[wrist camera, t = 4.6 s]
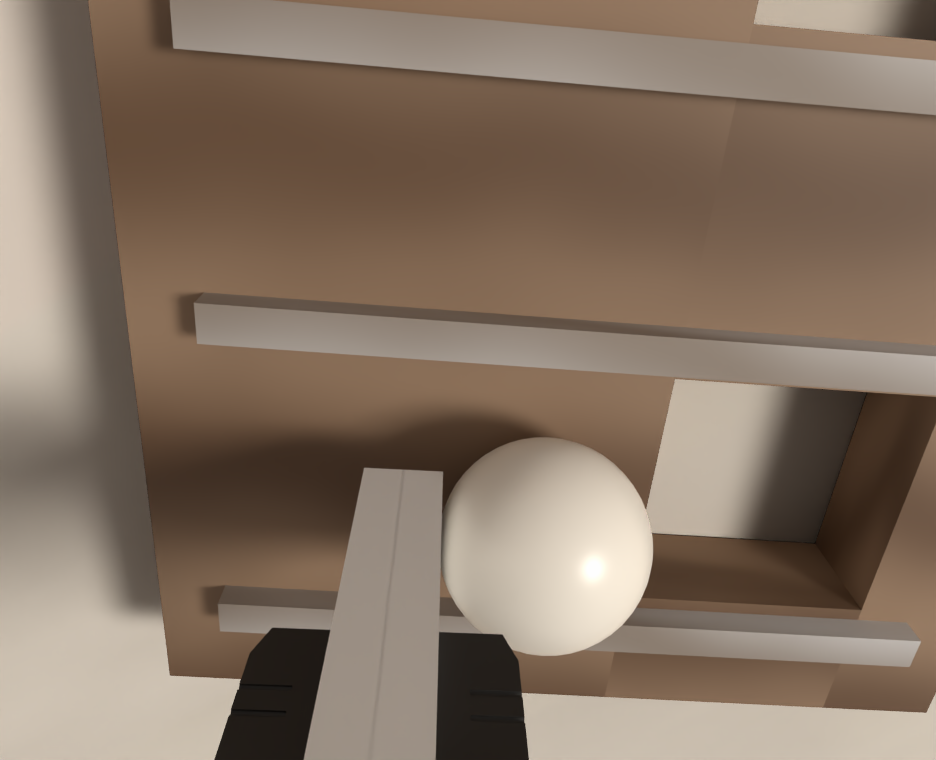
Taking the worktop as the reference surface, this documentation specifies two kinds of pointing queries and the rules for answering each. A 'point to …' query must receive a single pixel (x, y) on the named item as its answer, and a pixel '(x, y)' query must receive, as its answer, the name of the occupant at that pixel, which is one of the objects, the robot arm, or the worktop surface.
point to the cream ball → (546, 546)
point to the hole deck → (527, 304)
